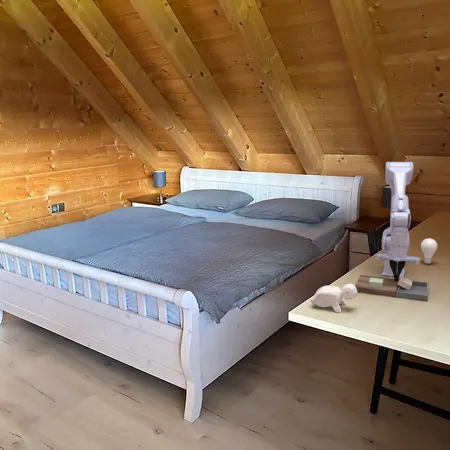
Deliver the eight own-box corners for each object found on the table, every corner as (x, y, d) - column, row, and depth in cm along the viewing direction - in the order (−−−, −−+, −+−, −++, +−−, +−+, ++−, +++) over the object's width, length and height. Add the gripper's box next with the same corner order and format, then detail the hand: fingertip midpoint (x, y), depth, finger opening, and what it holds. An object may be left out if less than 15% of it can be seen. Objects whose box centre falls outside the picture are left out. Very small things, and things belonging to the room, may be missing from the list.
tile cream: (398, 280, 176) (400, 275, 175) (409, 286, 174) (412, 281, 174) (397, 284, 172) (399, 279, 171) (409, 290, 170) (411, 285, 170)
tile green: (370, 282, 174) (370, 277, 174) (383, 284, 172) (383, 279, 172) (368, 286, 170) (369, 281, 170) (381, 288, 168) (382, 283, 168)
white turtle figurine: (315, 318, 157) (359, 308, 150) (306, 294, 156) (350, 284, 149) (321, 308, 164) (363, 299, 157) (313, 286, 164) (355, 275, 157)
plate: (360, 279, 183) (360, 274, 183) (398, 284, 178) (399, 279, 177) (354, 292, 171) (354, 286, 170) (395, 297, 165) (395, 291, 165)
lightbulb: (426, 266, 197) (428, 241, 194) (416, 262, 203) (418, 237, 200) (439, 265, 198) (441, 239, 196) (429, 261, 204) (431, 236, 202)
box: (399, 284, 177) (399, 279, 177) (428, 287, 173) (428, 282, 173) (395, 297, 165) (396, 291, 165) (427, 301, 161) (427, 295, 161)
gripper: (376, 245, 170) (374, 281, 173) (419, 249, 164) (417, 286, 167) (378, 240, 176) (376, 275, 179) (420, 244, 170) (418, 280, 173)
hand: (396, 280), depth 174 cm, fingers closed
